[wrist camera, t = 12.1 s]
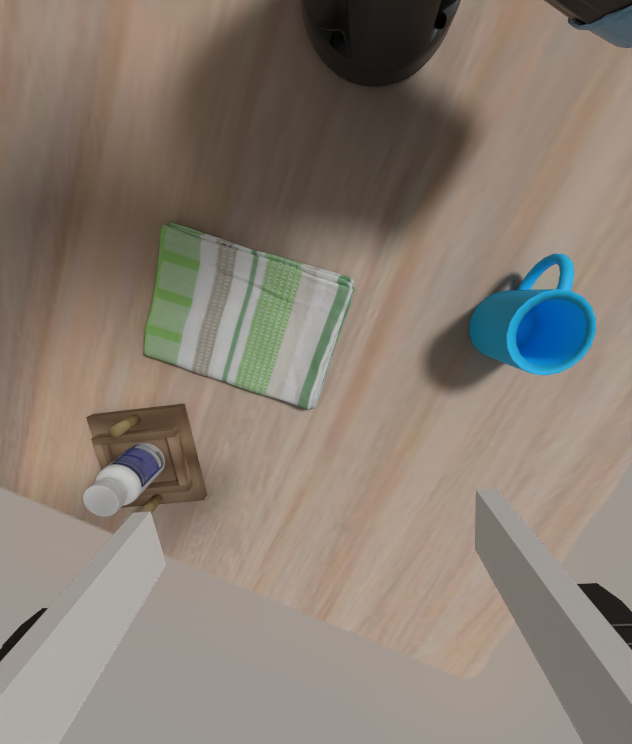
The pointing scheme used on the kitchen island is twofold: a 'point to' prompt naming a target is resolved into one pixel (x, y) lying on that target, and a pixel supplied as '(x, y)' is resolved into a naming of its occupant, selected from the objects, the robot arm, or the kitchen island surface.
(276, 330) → the dish towel
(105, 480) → the pill bottle
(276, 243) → the kitchen island surface
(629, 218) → the kitchen island surface
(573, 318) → the mug
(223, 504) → the kitchen island surface
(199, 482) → the cradle
